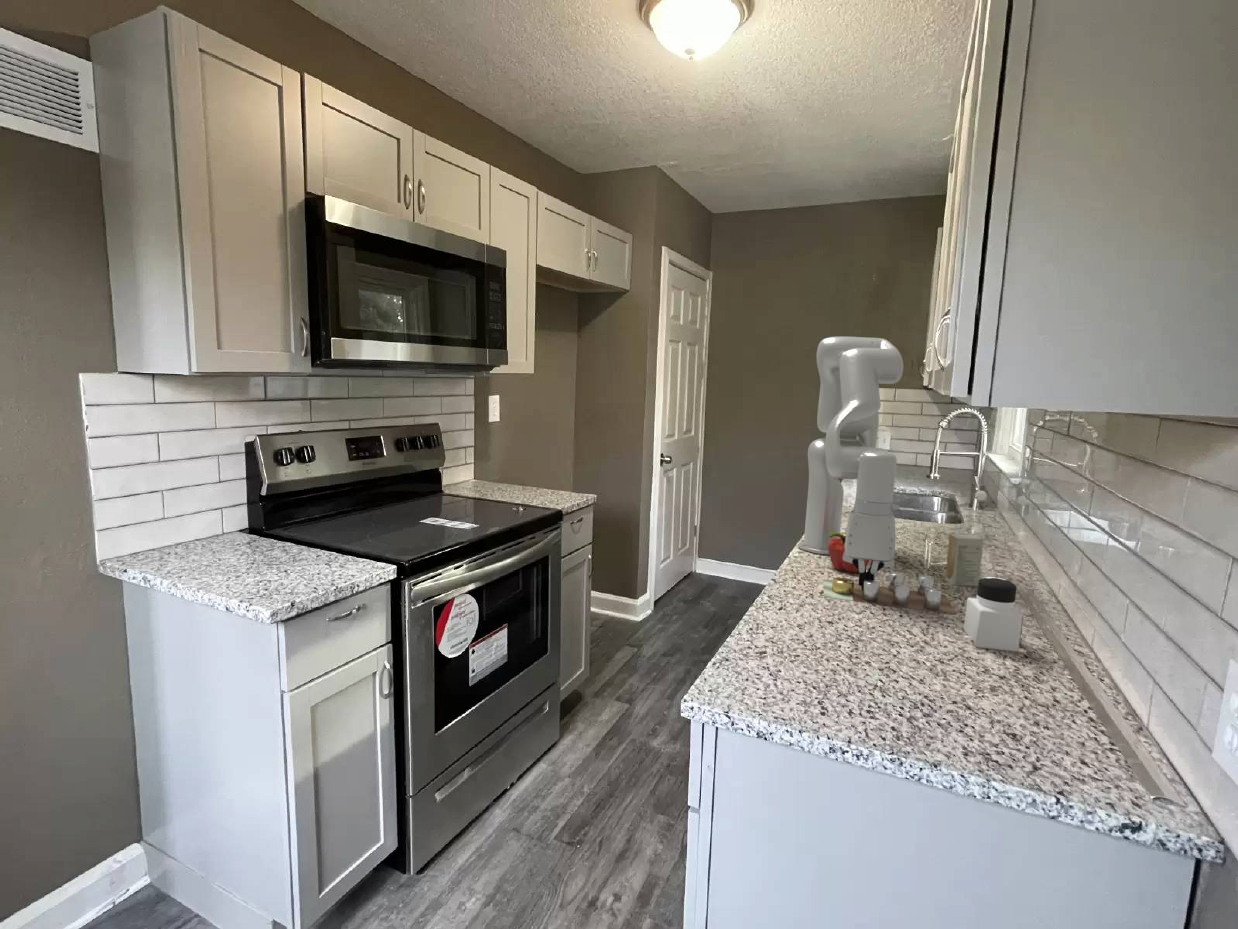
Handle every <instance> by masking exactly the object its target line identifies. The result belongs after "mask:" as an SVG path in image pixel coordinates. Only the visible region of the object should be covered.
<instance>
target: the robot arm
mask: <svg viewBox="0 0 1238 929" xmlns="http://www.w3.org/2000/svg"><path fill="white" fill-rule="evenodd" d="M816 366H817V369H818V374H819V380H820V387H819V388H820V389H819V397H818V405H817V415H816V416H817V418H816V422H817V423H816V424H817V428H818V430H819V431H820V432H821V433H824V434H825V437H823V438H818V439H815V440H813V441H812V442H811V443H810V444H809V446H808V447H807V448H808V449H807V461H808V464H807V465H808V486H807V501H806V511H805V522H804V524H805V525H804V535H803V536H804V539H803V540H800V541H801V542H800V541H798V543H799V542H800V543H799V544H798V543H797V547H798V548H799V549H801V550H802V551H805V552H809V553H813V554H819V555H828V556H830V554H829V550H828V546H829V543H830V540H832V539H835V538H836V539H837V538H840V537H838V536H833V537H832V538H831V537H829V535H830V534H831V533H840V534H841V526H842V515H843V504H844V494H845V493H844V491H845V490H844V487H843V484H842V482H841V480H842V479H843V480H856V489H855V491H856V492H855V502H854V510H851V511H850V513H849V516H848V520H847V524H846V531H845V536H846V537H845V551H844V554H843V557H842V558H843V560H844V561H846V562H849V563H852V564H854V565H855V567H856V568H857V569H858V570H859V573H858V576H859V577H858V584H859V585H860V586H861V588H862V591H863V589H864V581H865V580H874V574H875V575H876V574H877V573H878V572H879V571H880V570H882V569H883V568H890V567H892V568H893V567H894V566H895V564H896V563H895V559H894V558H895V555H896V554H895V553H896V534H897V533H896V518H895V515H894V514H893V513H894V512H900V510H901V509H900V506H901V505H899V504H898V505H897V504H895V503H894V502H893V501H894V494H895V493H894V491H895V483H896V475H897V474H896V473H897V457H896V455H895V454H894V453H891V452H889V451H888V449H885V448H882V447H876V446H877V440H878V432H879V424H880V423H879V422H880V416H879V410H880V408H881V403H882V402H881V394H880V384H881V385H882V384H885V385H893V384H894V385H895V384H896V383H898V382H899V381H900V380H901V378H902V376H903V373H904V361H903V356H902V354H901V353H900V350H898V348H897V347H896V346H895V345H893V344H892V343H891V342H890V341H889V340H887V339H885V338H880V337H861V336H829V337H826V338H823V339H822V340H821V341H820V342H819V343H818V346H817V349H816ZM840 435H842V436H856V439H843V438H841V437H840ZM839 479H841V480H839ZM864 559H865V560H869V561H871V562H870V564H869V568H867V567H866V568H865V566H864ZM866 569H868V571H867V572H866Z"/></svg>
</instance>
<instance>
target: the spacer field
mask: <svg viewBox="0 0 1238 929" xmlns="http://www.w3.org/2000/svg"><path fill="white" fill-rule="evenodd" d="M868 569H869V568H866V572H867V571H868ZM888 579H889V580H888V586H887V587H888V590H889V591H890V592H893V593H894V594H893V604H894V605H897V606H901V607H907V606H908V601H909V592H910V590H911V587H910V585H908V584H905V582H904V581H905V573H902V572H897V571H890V572H889V578H888ZM934 583H935V578H934V577H933V576H929V575H926V574H925V575H922V574H921V575H919V576H918V582H917V590H916V591H917V594H918V595H920V596H923V597H924V606H923V607H924V608H925V609H927V610H931V611H939V609H940V600H941V594H942V590H941V589H940V588H935V587H934ZM879 586H880V582H879V581H877V580H876V574H874V580H865V581H864V589H863V600H864V601H867V602H872V603H875V602H877V601H878V591H879ZM860 587H861V586H860ZM901 607H900V608H901Z"/></svg>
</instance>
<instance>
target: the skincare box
mask: <svg viewBox="0 0 1238 929" xmlns="http://www.w3.org/2000/svg"><path fill="white" fill-rule="evenodd" d="M983 545H984V538H982V537H980V536H978V535H977V534H961V533H960V534H958V533H949V536H948V546H947V556H946V565H945V566H946V567H945V569H946V570H945V578H944V579H945V580H946V581H947V582H948V583H949V584H951V585H953V586H956V585H958V586H966V587H968V586H969V587H977V588H978V581H979V580H980V579H981V577H980V576H981V570H982V569H981V568H982V566H981V565H982V556H983V547H984V546H983Z"/></svg>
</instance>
